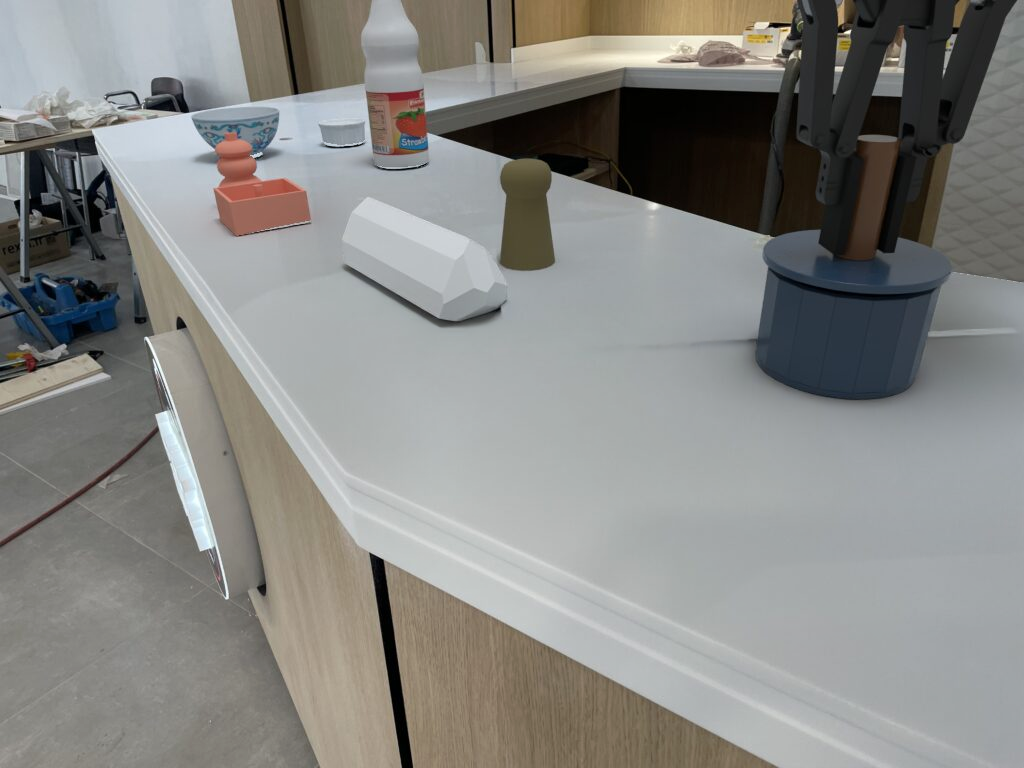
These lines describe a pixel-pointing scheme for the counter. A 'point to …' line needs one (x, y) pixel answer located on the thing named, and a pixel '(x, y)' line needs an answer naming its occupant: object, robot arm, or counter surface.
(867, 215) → the cover
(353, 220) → the crystal
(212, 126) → the chinaware
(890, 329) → the blue round pot
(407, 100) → the fruit juice
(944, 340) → the counter surface
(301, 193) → the pottery
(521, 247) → the cork
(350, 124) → the ramekin
